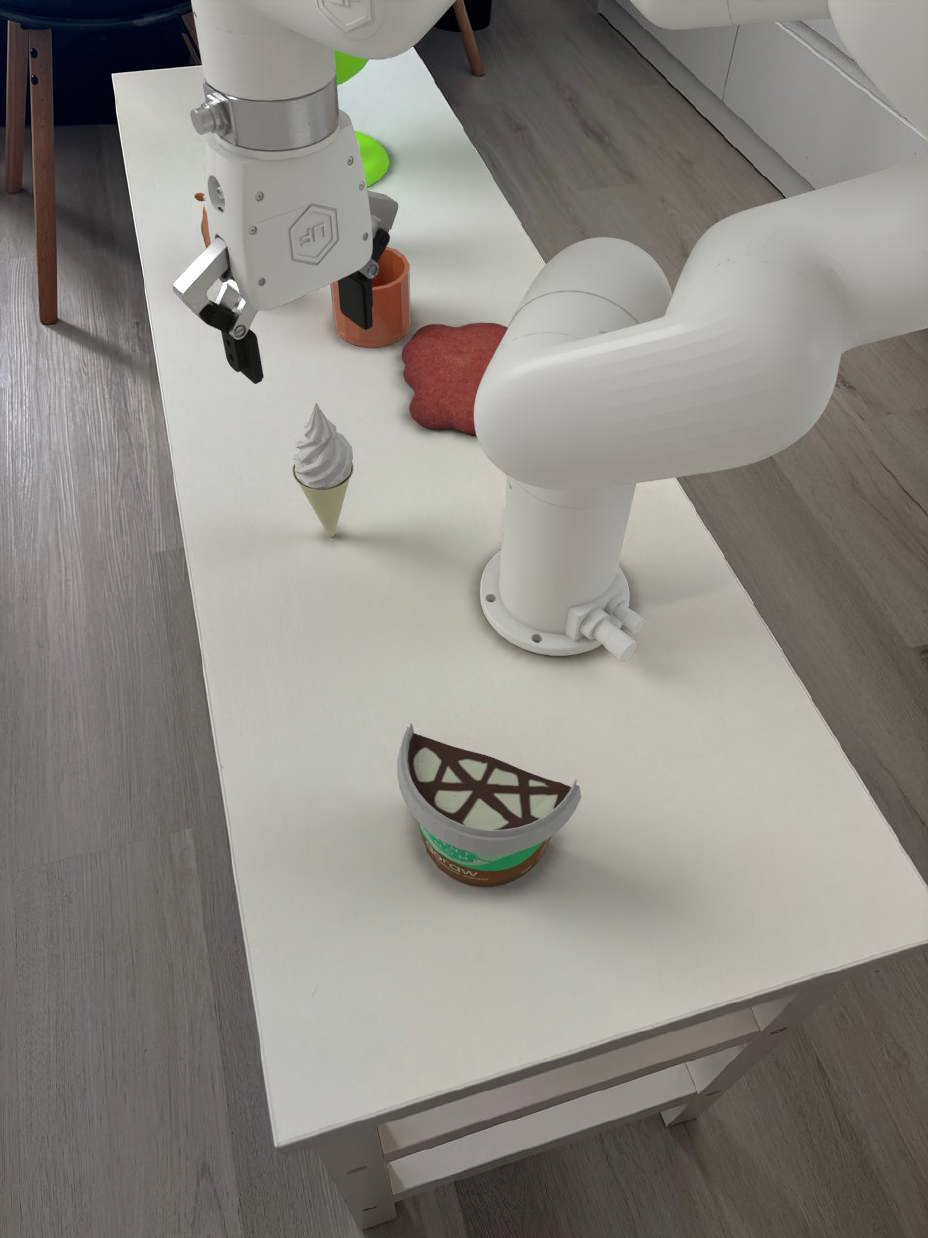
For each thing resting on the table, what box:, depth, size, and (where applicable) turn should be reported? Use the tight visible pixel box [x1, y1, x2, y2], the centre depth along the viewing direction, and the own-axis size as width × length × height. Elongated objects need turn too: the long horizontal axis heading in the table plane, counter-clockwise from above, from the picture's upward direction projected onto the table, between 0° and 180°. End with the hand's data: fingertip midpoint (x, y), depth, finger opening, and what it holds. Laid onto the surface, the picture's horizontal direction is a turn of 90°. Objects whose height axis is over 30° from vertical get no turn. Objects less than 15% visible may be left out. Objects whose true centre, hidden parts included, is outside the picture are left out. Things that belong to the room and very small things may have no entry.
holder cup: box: [329, 246, 412, 348], centre depth 103 cm, size 8×8×7 cm
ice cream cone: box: [291, 402, 354, 538], centre depth 81 cm, size 5×5×15 cm
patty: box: [401, 322, 508, 435], centre depth 100 cm, size 18×14×2 cm
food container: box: [396, 722, 582, 888], centre depth 65 cm, size 12×6×10 cm, turn 69°
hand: (303, 345), depth 71 cm, fingers open, 9 cm apart
